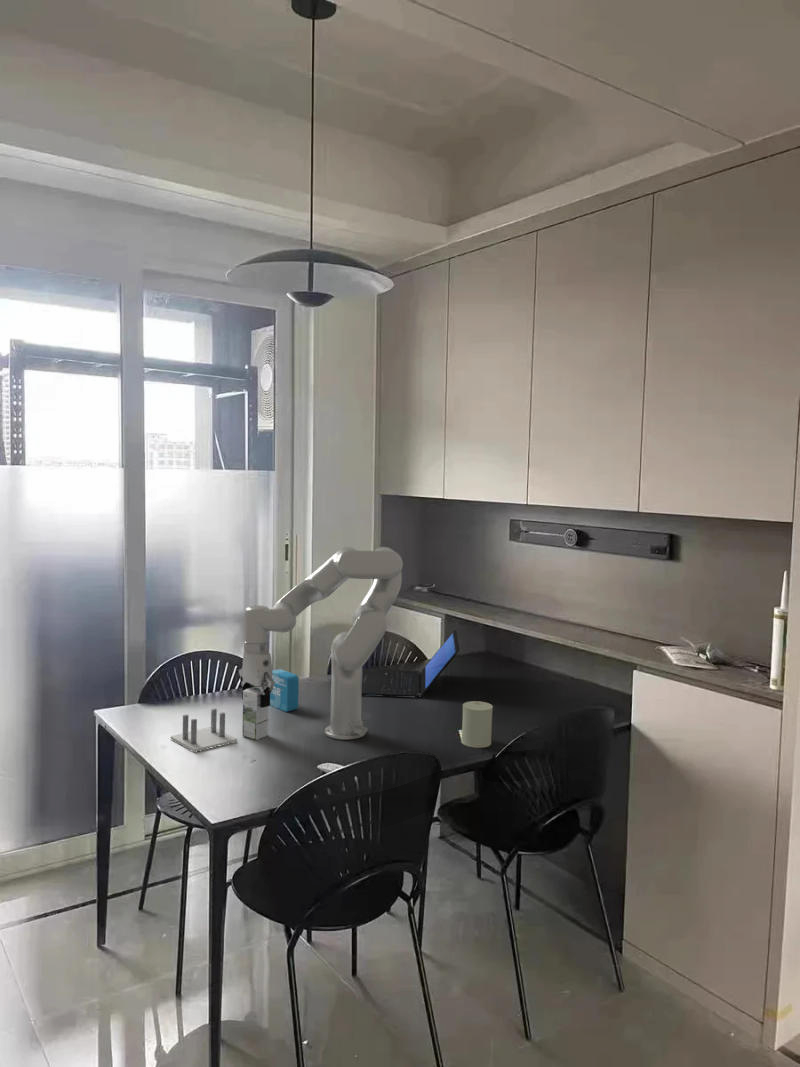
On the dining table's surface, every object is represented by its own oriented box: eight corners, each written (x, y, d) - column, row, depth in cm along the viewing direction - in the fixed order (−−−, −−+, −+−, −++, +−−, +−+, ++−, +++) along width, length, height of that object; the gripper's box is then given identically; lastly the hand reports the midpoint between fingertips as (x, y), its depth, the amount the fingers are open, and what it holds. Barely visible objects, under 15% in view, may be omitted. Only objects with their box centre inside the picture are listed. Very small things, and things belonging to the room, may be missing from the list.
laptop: (361, 672, 317) (362, 625, 315) (454, 677, 315) (456, 629, 314) (353, 697, 284) (354, 644, 282) (457, 701, 282) (459, 648, 281)
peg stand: (237, 742, 233) (237, 715, 233) (194, 752, 224) (194, 725, 223) (212, 729, 243) (212, 704, 243) (170, 739, 234) (170, 713, 233)
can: (487, 737, 245) (488, 699, 244) (494, 747, 236) (496, 708, 235) (458, 737, 244) (459, 699, 243) (464, 748, 235) (466, 708, 234)
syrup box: (268, 735, 240) (269, 688, 239) (255, 740, 235) (256, 693, 234) (254, 731, 243) (255, 685, 242) (241, 737, 238) (242, 690, 236)
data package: (267, 704, 270) (267, 670, 269) (278, 702, 274) (278, 668, 273) (287, 713, 262) (288, 677, 261) (298, 710, 265) (299, 675, 264)
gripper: (284, 651, 233) (282, 707, 234) (251, 640, 245) (250, 694, 247) (262, 654, 228) (261, 712, 229) (230, 643, 240) (229, 698, 241)
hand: (255, 702), depth 238 cm, fingers open, 9 cm apart
